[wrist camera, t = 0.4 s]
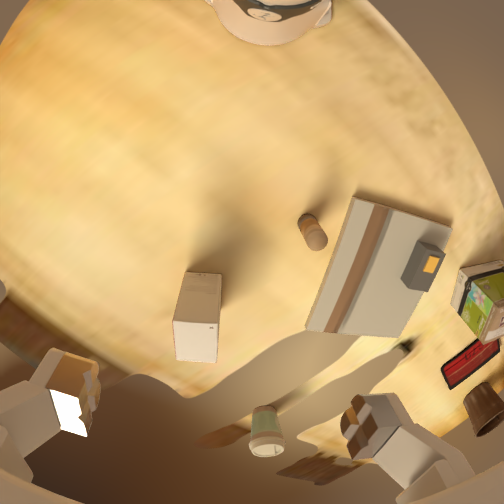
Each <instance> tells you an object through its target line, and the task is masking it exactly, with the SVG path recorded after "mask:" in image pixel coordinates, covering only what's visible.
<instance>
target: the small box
mask: <svg viewBox="0 0 504 504" xmlns="http://www.w3.org/2000/svg"><path fill="white" fill-rule="evenodd" d="M221 284H222V275H221V274H212V273H194V272H185V274H184V278H183V282H182V286H181V290H180V293H179V297H178V301H177V305H176V309H175V313H174V317H173V320H172V323H173V335H174V345H175V354H176V360H183V361H194V362H208V363H217V353H218V337H219V322H220V309H221Z"/></svg>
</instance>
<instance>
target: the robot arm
mask: <svg viewBox="0 0 504 504" xmlns="http://www.w3.org/2000/svg"><path fill="white" fill-rule="evenodd" d="M205 1H206V2H207V3H208V4H209V5H211V6H212V7H213V8H214V9H215V11H216V13H217V15H218V17H219V19H220V21H221V23H222V24H223V25H224V27H225V28H226V29H227V30H228V31H229V32H231V33H232V34H233V35H235V36H236V37H238V38H240V39H242V40H244V41H247V42H250V43H253V44H258V45H280V44H284V43H288V42H291V41H293V40H295V39H297V38H299V37H300V36H302V35H303V34H304V33H306V32H307V31H309V30H310V29H312V28H317V27H322V26H325V25H327V24H329V22H330V21H331V4H332V2H331V0H205ZM98 372H99V369H98V363H97V362H96V361H92V360H89V359H86V358H83V357H80V356H77V355H74V354H71V353H68V352H64V351H61V350H58V349H55V348H52V349H50V350H49V351H48V352H47V354H46V355H45V357H44V358H43V360H42V362H41V363H40V365H39V366H38V368H37V369H36V371H35V373H34V374H33V376H32V377H31V379H30V381H29V382H28V381H26V380H24V381H22V382H20V383H18V384H15V385H13V386H11V387H9V388H7V389H4V390H2V391H0V504H83V503H80V502H77V501H74V500H71V499H68V498H66V497H63V496H60V495H57V494H55V493H53V492H50V491H48V490H45V489H43V488H40V487H38V486H36V485H34V484H31V481H32V478H33V473H32V471H31V469H30V468H29V466H28V465H27V463H26V462H25V460H24V459H23V458H24V457H25V456H26V455H28V454H29V453H31V452H32V451H33V450H35V449H36V448H37V447H39V446H40V445H42V444H43V443H44V442H46V441H47V440H48V439H50V438H51V437H52V436H54V435H55V434H56V433H58V432H59V431H61V429H64V430H67V431H71V432H74V433H77V434H81V435H84V436H87V434H88V431H89V428H90V425H91V423H92V416H91V412H93V411H94V410H96V408H97V405H98V402H99V397H100V381H99V380H98V379H97V374H98ZM351 405H352V407H350V408H349V409H347V410H346V411H345V412H344V414H343V416H342V417H341V423H340V427H341V432H342V435H343V436H344V437H345V438H346V439H348V443H347V448H348V451H349V453H350V456H351V459H352V460H358V459H367V458H373V460H374V461H375V462H376V463H377V464H378V465H379V466H380V467H381V468H382V469H383V470H384V471H386V472H387V473H388V474H389V475H390V476H391V477H392V478H393V479H394V480H395V481H396V482H397V483H398V484H400V485H401V486H402V487H403V488H404V489H405V490H404V491H403V492H402V493H401V494H399V495H398V496H397V498H396V502H397V504H504V461H502V462H500V463H499V464H497V465H495V466H493V467H491V468H490V469H488V470H486V471H484V472H482V473H480V474H478V475H475V474H474V472H473V470H472V468H471V467H470V465H469V464H468V462H467V460H466V459H465V457H464V455H463V453H462V452H461V451H459V450H457V449H456V448H454V447H453V446H451V445H450V444H448V443H446V442H445V441H443V440H442V439H440V438H439V437H437V436H436V435H434V434H432V433H431V432H429V431H428V430H426V429H425V428H423V427H422V426H420V425H419V424H414V423H413V421H412V419H411V418H410V416H409V414H408V413H407V411H406V409H405V408H404V406H403V404H402V403H401V401H400V399H399V398H398V396H397V395H396V394H395V393H382V394H358V395H356V396H355V397H354V398H353V399H352V401H351Z"/></svg>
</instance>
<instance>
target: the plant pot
mask: <svg viewBox="0 0 504 504" xmlns="http://www.w3.org/2000/svg"><path fill="white" fill-rule="evenodd" d="M463 404H464V406H465V408H466V410H467V413H468V415H469V417H470V420H471V422H472V425H473V430H474V432H475V437H476V438H479V437H482V436H484V435H486V434H487V433H489V432H490V431H492V430H493V429H494V428H496V427H497V426H498V425H499V424H500V423H502V422H503V421H504V402H503V401H502V400H501V398H500V397H499V396H498V395H497V393H496V392H495V391H494V390H493V388H492V387H491V386H490V385H489V383H486V382H485V383H482V384H480V385H478V386H477V387H475V388H474V389H473V390H472V391H471V393H470V394H468V395H467V396H466V397H465V399H464V401H463Z"/></svg>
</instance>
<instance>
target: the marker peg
mask: <svg viewBox="0 0 504 504" xmlns="http://www.w3.org/2000/svg"><path fill="white" fill-rule="evenodd" d="M298 227H299V229H300V231H301V233H302V235H303V237H304V239H305V241H306V243H307V245H308V247H309V248H310V249H311V250H313V251H320V250H322V249H323V248H325V246H326V245H327V243H328V238H327V235H326V234H325V232H324V231H323V229H322V228H321V226H320V225H319V223H318V222H317V220H316V219H315V217H314V216H313V215H311V214H304V215H302V216H301V217H300V218H299V220H298Z"/></svg>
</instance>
